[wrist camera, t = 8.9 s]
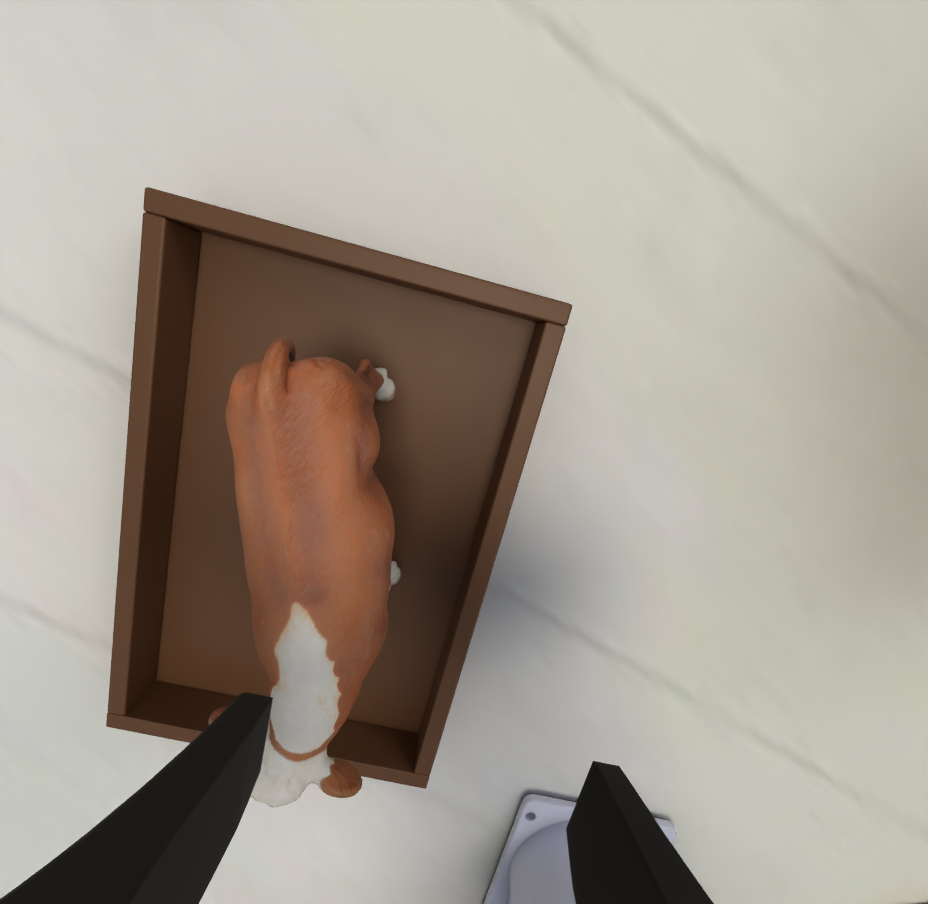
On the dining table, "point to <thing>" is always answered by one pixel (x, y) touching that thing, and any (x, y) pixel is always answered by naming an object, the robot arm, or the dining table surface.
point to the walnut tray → (397, 467)
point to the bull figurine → (311, 552)
